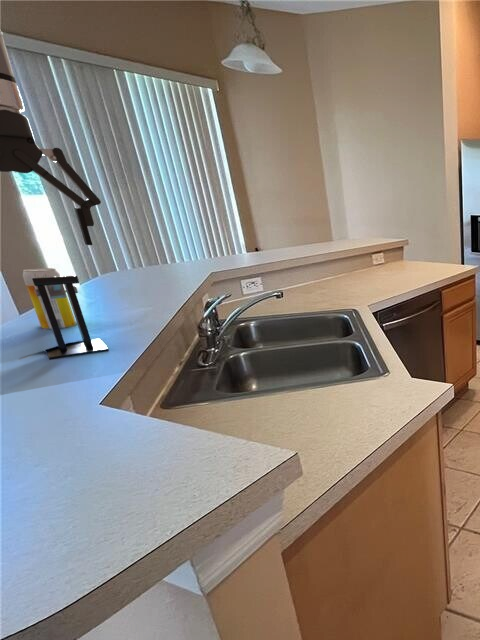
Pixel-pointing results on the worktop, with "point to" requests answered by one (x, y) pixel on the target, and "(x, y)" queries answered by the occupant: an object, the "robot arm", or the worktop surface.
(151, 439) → the worktop surface
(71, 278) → the lever
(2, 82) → the robot arm
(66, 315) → the yellow pill bottle
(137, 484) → the worktop surface
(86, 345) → the black stand frame
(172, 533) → the worktop surface
